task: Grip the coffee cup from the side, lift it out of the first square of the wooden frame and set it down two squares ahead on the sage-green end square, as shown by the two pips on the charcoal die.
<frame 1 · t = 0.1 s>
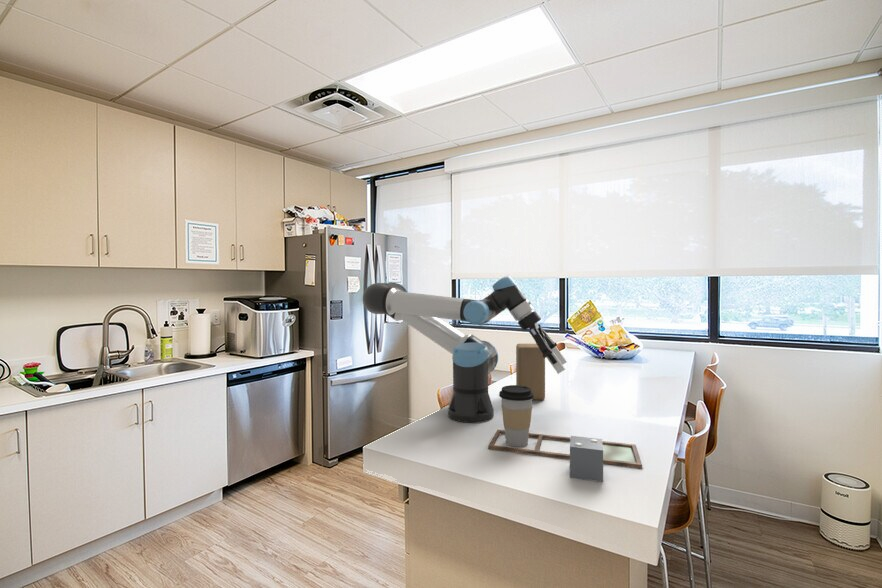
hand: (562, 367, 140), 15 cm above the table, tool tilted 35°, fingers open, 13 cm apart
die: (586, 472, 96), on the table
wooden block: (530, 397, 160), on the table
coffee cup: (516, 443, 114), resting in wooden frame
wooden frame: (561, 448, 110), on the table
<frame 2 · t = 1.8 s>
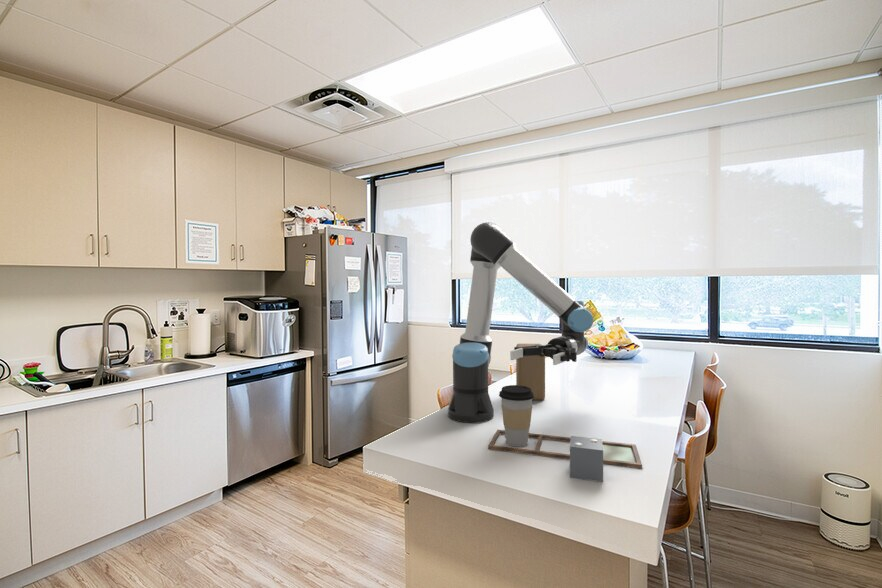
hand: (532, 357, 121), 22 cm above the table, tool horizontal, fingers open, 13 cm apart
nothing on the table moved.
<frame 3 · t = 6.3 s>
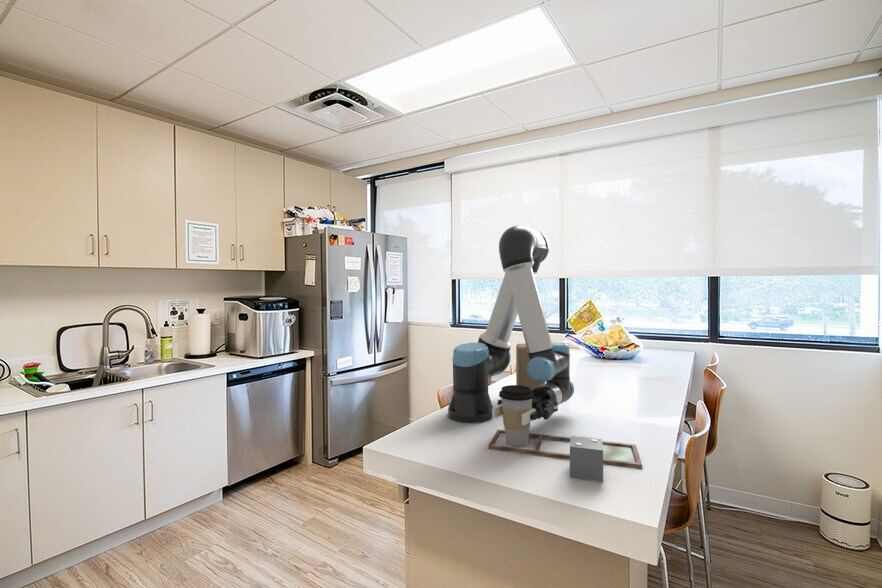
hand: (507, 416, 110), 8 cm above the table, tool horizontal, fingers closed on coffee cup, 8 cm apart
coffee cup: (516, 443, 114), resting in wooden frame, touching gripper
everything else where it was.
when the fingers open (10 cm above the table, at t = 11.8 s): coffee cup moves 3 cm, resting in wooden frame.
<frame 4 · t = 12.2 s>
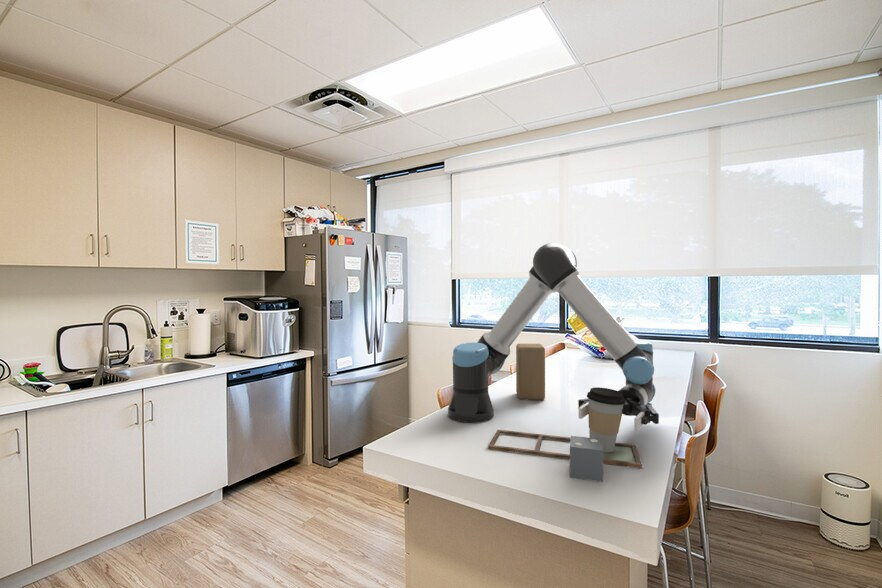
hand: (606, 418, 103), 10 cm above the table, tool horizontal, fingers open, 13 cm apart
coffee cup: (601, 448, 108), resting on wooden frame, touching gripper
everything else where it was.
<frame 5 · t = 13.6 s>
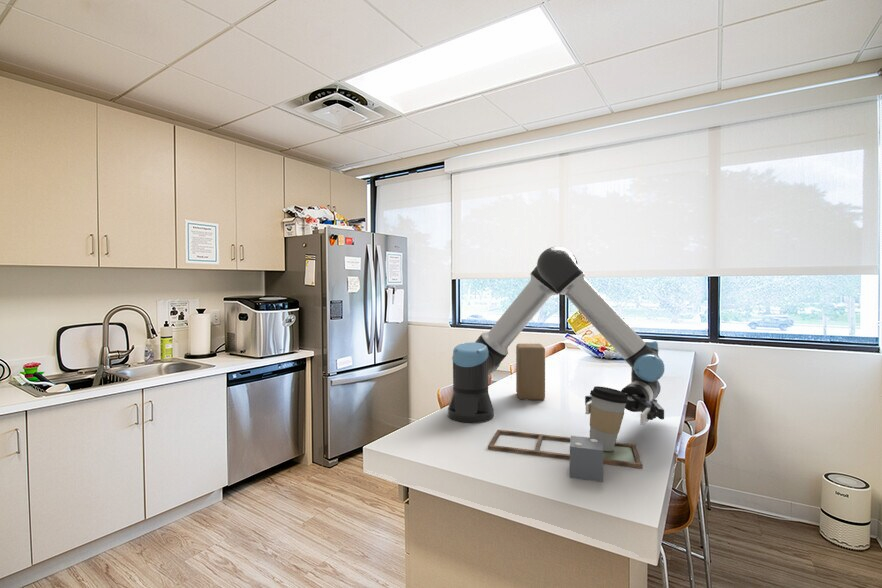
hand: (613, 414, 106), 10 cm above the table, tool horizontal, fingers open, 13 cm apart
coffee cup: (600, 447, 109), point 1 cm above the table, touching wooden frame, gripper
everything else where it was.
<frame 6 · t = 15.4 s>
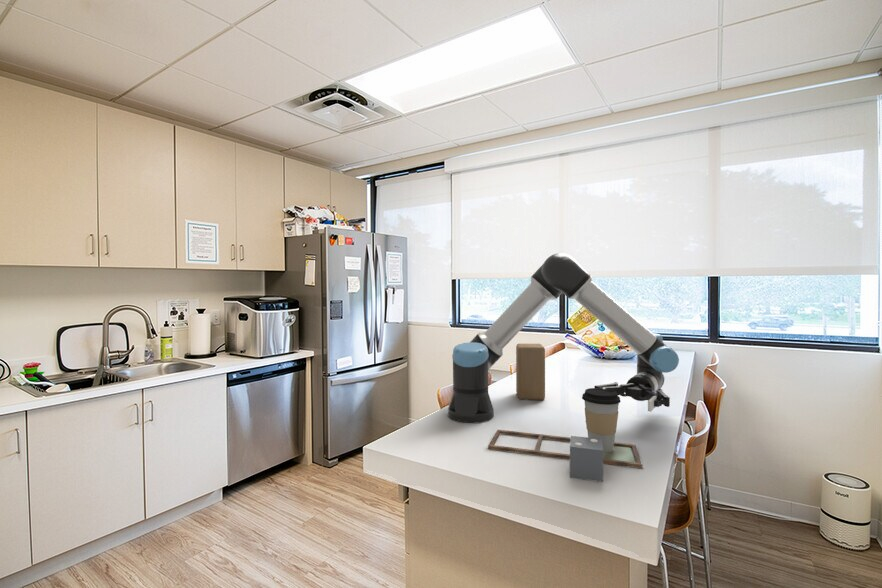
hand: (622, 401, 113), 11 cm above the table, tool horizontal, fingers open, 13 cm apart
coffee cup: (600, 449, 109), resting on wooden frame
everything else where it was.
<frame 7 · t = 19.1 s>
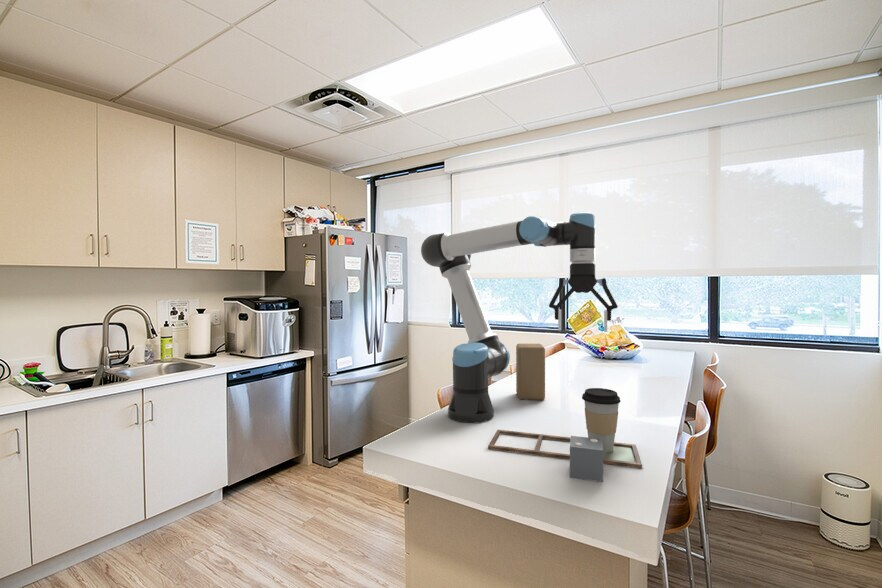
hand: (582, 330, 130), 29 cm above the table, tool pointing down, fingers open, 13 cm apart
nothing on the table moved.
at the end: coffee cup inside the target area on the wooden frame (3.2 cm from its centre), point 0.1 cm above the wooden frame's base; coffee cup tilted 0°; the gripper is holding nothing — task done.
